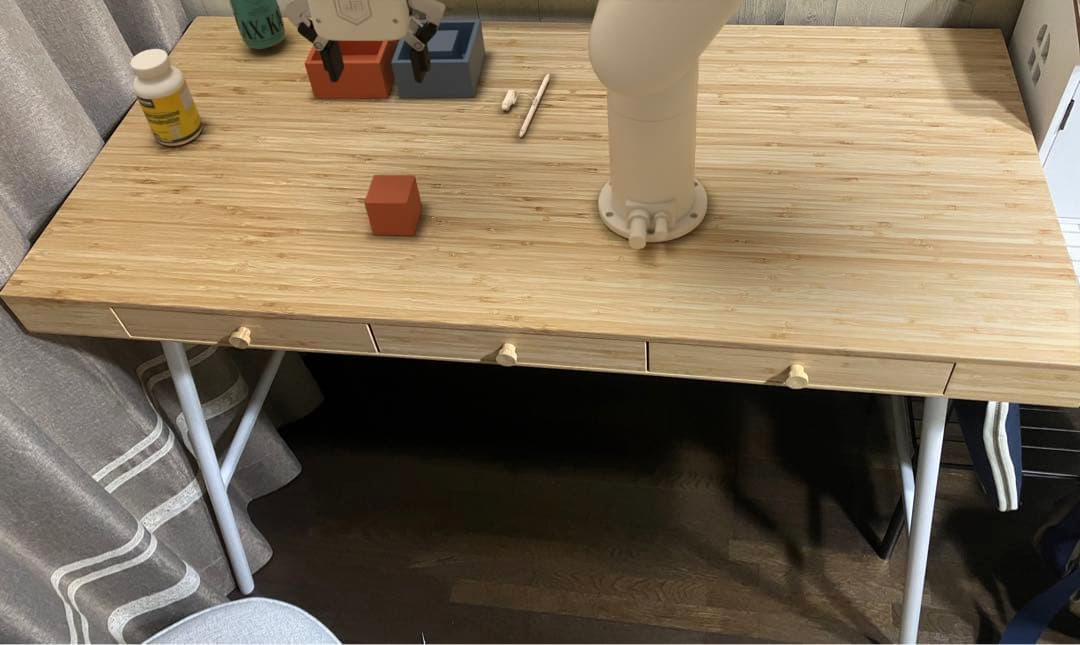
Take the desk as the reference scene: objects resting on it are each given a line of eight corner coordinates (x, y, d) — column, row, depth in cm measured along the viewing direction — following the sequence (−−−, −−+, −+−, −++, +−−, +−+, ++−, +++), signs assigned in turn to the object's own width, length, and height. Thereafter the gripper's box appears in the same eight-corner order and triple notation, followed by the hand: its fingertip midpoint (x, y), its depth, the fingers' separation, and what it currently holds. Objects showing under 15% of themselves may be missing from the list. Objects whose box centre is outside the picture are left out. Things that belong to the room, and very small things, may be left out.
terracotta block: (414, 235, 118) (406, 203, 114) (372, 235, 119) (363, 202, 115) (422, 207, 121) (415, 174, 118) (382, 206, 122) (373, 174, 118)
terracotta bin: (387, 98, 137) (379, 62, 133) (314, 98, 139) (304, 63, 135) (403, 55, 144) (395, 20, 140) (333, 56, 146) (324, 21, 142)
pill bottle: (146, 142, 135) (111, 68, 127) (176, 115, 139) (145, 41, 131) (183, 152, 133) (151, 77, 125) (213, 124, 137) (184, 49, 128)
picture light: (523, 139, 129) (521, 125, 127) (490, 136, 130) (488, 122, 128) (551, 76, 138) (550, 63, 136) (521, 74, 139) (519, 60, 137)
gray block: (457, 82, 138) (451, 50, 134) (421, 82, 138) (415, 51, 135) (463, 61, 141) (458, 30, 137) (428, 62, 142) (422, 30, 138)
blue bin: (474, 97, 136) (468, 61, 132) (399, 98, 137) (391, 62, 133) (485, 54, 143) (480, 19, 139) (414, 55, 144) (407, 20, 140)
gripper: (248, -54, 98) (295, 94, 110) (420, -56, 95) (448, 96, 108) (273, -90, 103) (315, 56, 115) (437, -93, 100) (462, 56, 113)
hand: (379, 75), depth 112 cm, fingers open, 9 cm apart
